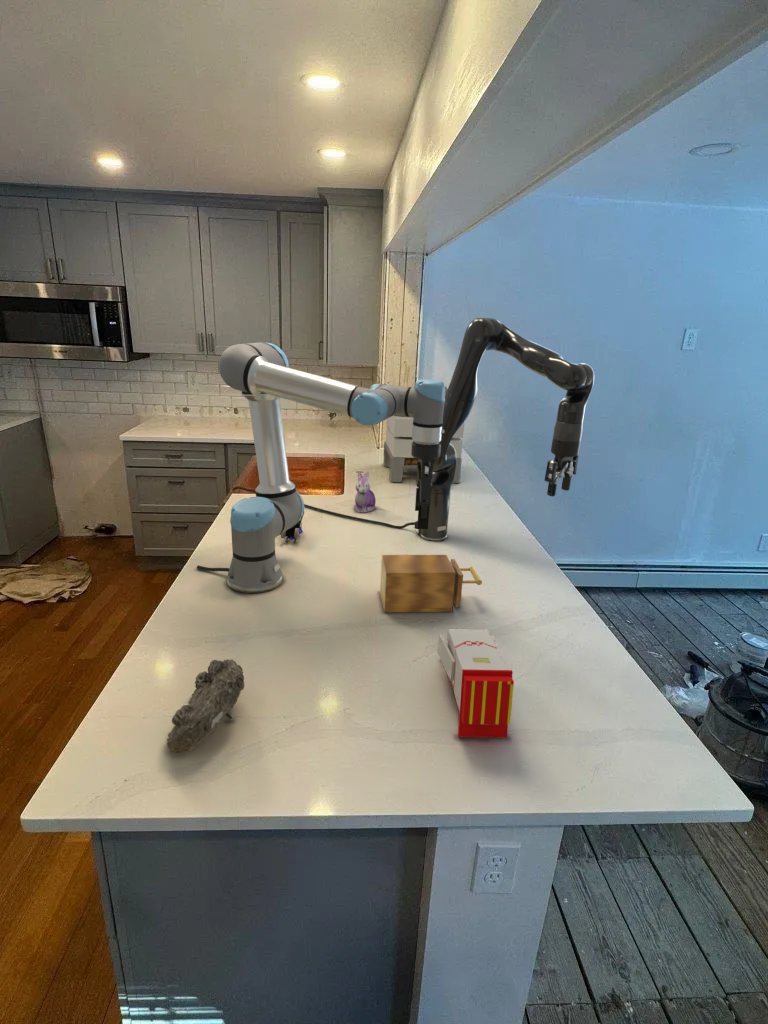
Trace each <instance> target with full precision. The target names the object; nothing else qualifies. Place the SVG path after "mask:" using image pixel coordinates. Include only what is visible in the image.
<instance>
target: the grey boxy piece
mask: <svg viewBox="0 0 768 1024" xmlns="http://www.w3.org/2000/svg"><path fill="white" fill-rule="evenodd" d="M397 386H401V385H399V384H398V385H397ZM447 390H448V387H447V386H445V395H446V392H447ZM385 423H386V428H385V438H384V442H383V466H384V467H388V468H389V475H388V476H389V477H388V478H389V480H390V482H391V483H402V482H403V475H404V469H405V466H406V467H407V466H411V467H412V466H413V467H415V466H416V467H417V462H419V458H415V457H413V456H412V455H411V449H412V442H413V441H414V440H412V429H413V417H407V416H392V417H389V418H387V419H385ZM464 429H465V421H464V422H463V424H462V425H461V426H460V428H459V429H458V430H457V431H456V433H455V434H454V436H453V437H452V439H451V441H450V444H451V445H452V446H453V447H454V448H455V451H456V456H457V461H456V469H455V477H454V481H453V484H455V483H456V484H459V483H461V472H462V461H463V460H462V453H463V442H464V441H463V440H462V439H463V438H464V431H465V430H464Z"/></svg>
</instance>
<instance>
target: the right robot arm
mask: <svg viewBox="0 0 768 1024" xmlns="http://www.w3.org/2000/svg"><path fill="white" fill-rule="evenodd" d="M485 351H495V352H499V353H503V354H506V355H509V356H510V357H512V358H514V359H515V360H516V361H517V362H518V363H520V364H521V365H522V366H523V367H525V368H527V369H528V370H530V371H532V372H534V373H536V374H538V375H540V376H542V377H543V378H546V379H547V380H549V381H550V382H551V383H553V384H554V385H555V386H557V387H559V388H560V389H563V390H564V391H566V393H565V397H563V398H562V400H560V401H559V403H558V406H557V407H558V408H557V412H556V413H557V414H556V421H555V424H554V427H553V432H552V433H553V434H552V441H551V446H550V452H551V454H552V455H554V458H553V460H550V459H549V460H548V461H547V464H546V469H545V475H544V482H546V483H548V485H547V492H546V495H547V496H549V497H555V496H556V493H557V487H558V482H559V480H560V478H562V481H561V490H563V491H569V490H571V489H570V488H571V482H572V479H573V477H574V476H575V475H576V474H577V469H578V463H579V453H580V447H581V441H582V437H583V436H582V435H583V426H584V425H583V424H584V423H583V422H584V418H585V417H584V416H585V412H586V405H587V404H588V401H589V398H590V397H591V393H592V391H593V387H594V383H595V372H594V369H593V368H592V366H590V365H589V364H587V363H583V362H580V363H572V362H570V361H568V360H565V359H564V358H563V356H562V355H561V354H559V353H558V352H556V351H553V350H552V349H549V348H547V347H545V346H542V345H540V344H538V343H536V342H533V341H532V340H529V339H527V338H525V337H524V336H521V335H520V334H518V333H516V332H515V331H513V330H512V329H511V328H510V327H508V326H507V325H505V324H504V323H502V321H499V320H498V319H496V318H492V317H476V318H474V319H472V320H471V321H470V322H469V324H468V325H467V327H466V328H465V331H464V335H463V338H462V343H461V347H460V350H459V355H458V358H457V362H456V365H455V367H454V371H453V374H452V376H451V379H450V382H449V384H448V387H447V389H448V390H447V392H446V395H445V403H444V412H443V424H442V429H443V430H444V433H441V435H442V436H441V441H440V442H439V443H440V444H441V452H440V457H439V458H437V459H432V460H430V463H432V465H433V471H432V480H431V498H430V502H431V504H430V507H429V520H428V529H417V524H418V520H416V521H412V522H407V523H405V524H403V525H394V524H391V523H388V522H383V521H379V520H378V521H377V520H372V519H367V518H362V517H357V516H351V515H348V514H344V513H339V512H335V511H330V510H326V509H323V508H319V507H316V506H313V505H309V504H306V503H304V508H308V509H310V510H314V511H318V512H322V513H325V514H330V515H333V516H337V517H342V518H346V519H350V520H355V521H361V522H366V523H371V524H376V525H381V526H386V527H389V528H393V529H405V528H407V527H408V526H414V529H415V530H417V535H418V536H420V538H421V539H424V540H426V541H432V542H440V541H444V540H446V539H447V538H448V525H449V517H450V516H449V514H450V504H451V494H452V493H451V491H452V486H453V484H454V483H453V481H454V477H455V469H456V461H457V456H456V451H455V448H454V447H453V446H452V445H451V444H450V441H451V439H452V437H453V436H454V434H455V433H456V431H457V430H458V429H459V428H460V426H461V425H462V424H463V422H464V423H465V421H466V420H467V419H468V417H469V415H470V414H471V411H472V409H473V406H474V404H475V401H476V399H477V395H478V376H477V375H478V370H479V365H480V363H481V361H482V358H483V355H484V353H485ZM235 490H243V491H246V492H249V493H250V492H251V493H255V494H256V491H255V489H250V488H248V487H244V486H243V487H242V486H235V487H233V488H232V489H231V491H235ZM426 501H427V500H426Z"/></svg>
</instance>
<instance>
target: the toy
mask: <svg viewBox="0 0 768 1024" xmlns="http://www.w3.org/2000/svg"><path fill="white" fill-rule="evenodd" d="M446 640H447V643H446V641H445V639H444V636H443V635H442V634H439V637H438V646H437V656H438V657H439V659H440V661H441V663H442V666H443V668H444V670H445V672H446V674H447V677H448V679H449V681H450V684H451V687H452V690H453V693H454V697H455V701H456V705H457V708H458V711H459V714H458V715H459V716H458V730H457V731H458V732H457V737H458V738H508V731H509V726H510V725H511V717H512V707H513V697H514V696H513V695H514V684H515V680H514V679H513V673H514V671H513V670H512V669H508V667H507V665H506V662H505V661H504V659H503V658H502V655H501V653H500V651H499V649H498V647H497V643H496V639H495V637H494V635H493V634H491V632H490V631H489V629H467V628H466V629H465V628H463V629H461V628H460V629H459V628H448V630H447V639H446Z"/></svg>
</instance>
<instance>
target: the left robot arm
mask: <svg viewBox="0 0 768 1024" xmlns="http://www.w3.org/2000/svg"><path fill="white" fill-rule="evenodd" d="M218 371H219V374H220V377H221V379H222V381H223V382H224V383H225V384H226V385H227V386H228V387H230V388H231V389H234V390H236V391H240V392H241V395H242V397H244V398H245V399H246V400H247V401H248V406H249V413H250V421H251V428H252V435H253V441H254V442H253V443H254V451H255V459H256V465H257V473H258V478H259V479H258V481H259V484H258V485H257V487H256V488H255V489H254V490H255V491H256V493H255V496H251V497H249V498H242V499H240V500H238V501H236V503H234V504H233V505H232V507H231V510H230V520H229V523H230V532H231V546H232V547H231V548H232V557H231V559H232V560H231V562H230V565H229V567H207V566H202V565H197V566H196V569H197V570H201V571H205V572H227V577H226V580H227V581H226V582H227V583H226V584H227V585H228V587H229V588H230V589H232V590H234V591H236V592H239V593H245V594H259V593H265V592H269V591H271V590H273V589H276V588H277V587H279V586H280V585H281V584H282V582H283V571H282V569H281V566H280V563H279V561H278V558H277V556H276V538H277V537H279V536H281V534H282V533H283V532H285V531H286V530H288V529H290V528H292V527H293V526H295V524H297V522H299V520H300V519H301V518H302V516H303V517H304V515H303V513H304V514H305V507H304V504H305V501H304V499H303V497H302V495H301V494H300V493H299V491H298V490H296V489H297V487H296V484H295V483H294V482H292V481H291V480H290V473H289V466H288V465H289V464H288V457H287V447H286V440H285V430H284V423H283V413H282V405H281V399H285V400H288V401H291V402H294V403H295V402H296V403H299V404H303V405H305V406H306V405H307V406H308V407H309V406H310V407H313V408H317V409H320V410H324V411H328V412H331V413H335V414H337V415H342V416H346V417H349V418H353V419H354V420H355V421H356V423H358V424H359V425H362V426H367V427H368V426H375V425H379V424H380V423H382V422H384V421H386V419H387V418H389V417H392V416H407V417H413V429H412V440H414V441H413V442H412V449H411V455H412V456H413V457H415V458H419V462H417V466H416V474H417V475H416V480H415V482H416V488H415V489H416V490H415V502H414V503H415V504H414V512H417V521H418V524H417V529H416V530H418V529H428V520H429V507H430V504H431V502H430V498H431V480H432V471H433V465H432V463H430V460H432V459H437V458H439V457H440V452H441V444H440V443H439V442H440V441H441V436H442V435H441V433H444V430H443V429H442V424H443V412H444V403H445V387H446V385H445V383H444V382H443V381H441V380H438V379H425V378H424V379H422V378H421V379H417V380H416V381H415V383H414V384H415V385H414V386H403V385H400V386H398V385H394V384H388V383H374V384H372V385H370V387H369V388H367V387H363V386H359V385H356V384H351V383H349V382H345V381H342V380H341V381H340V380H336V379H333V378H329V377H325V376H321V375H318V374H314V373H310V372H306V371H303V370H299V369H295V368H292V367H290V365H289V360H288V357H287V355H286V354H285V352H284V351H283V350H282V349H281V348H280V347H279V346H278V345H276V344H274V343H271V342H265V341H264V342H262V341H257V342H249V343H248V342H247V343H237V344H233V345H230V346H228V347H227V348H225V350H224V351H223V352H222V354H221V356H220V358H219V361H218ZM426 500H427V501H426ZM302 519H303V518H302Z"/></svg>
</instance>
